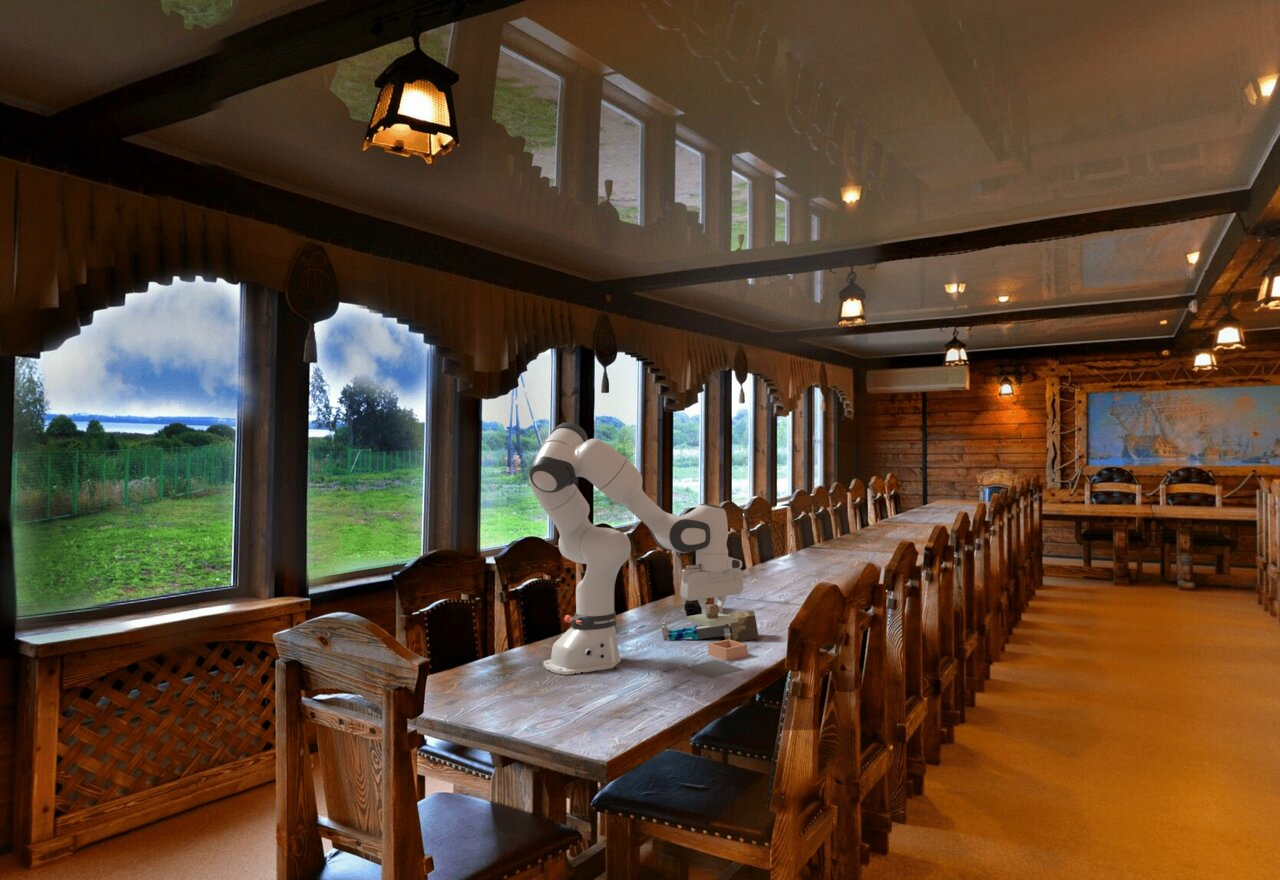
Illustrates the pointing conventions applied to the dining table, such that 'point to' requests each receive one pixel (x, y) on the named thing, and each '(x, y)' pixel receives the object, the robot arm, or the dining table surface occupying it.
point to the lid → (712, 617)
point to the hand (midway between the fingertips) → (712, 613)
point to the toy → (718, 629)
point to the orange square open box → (727, 649)
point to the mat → (714, 668)
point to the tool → (695, 606)
